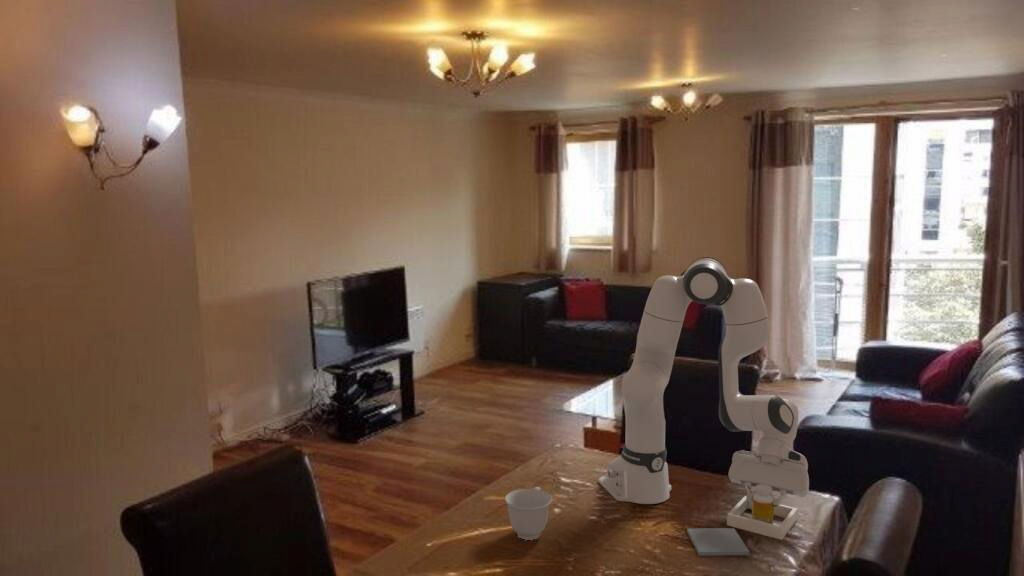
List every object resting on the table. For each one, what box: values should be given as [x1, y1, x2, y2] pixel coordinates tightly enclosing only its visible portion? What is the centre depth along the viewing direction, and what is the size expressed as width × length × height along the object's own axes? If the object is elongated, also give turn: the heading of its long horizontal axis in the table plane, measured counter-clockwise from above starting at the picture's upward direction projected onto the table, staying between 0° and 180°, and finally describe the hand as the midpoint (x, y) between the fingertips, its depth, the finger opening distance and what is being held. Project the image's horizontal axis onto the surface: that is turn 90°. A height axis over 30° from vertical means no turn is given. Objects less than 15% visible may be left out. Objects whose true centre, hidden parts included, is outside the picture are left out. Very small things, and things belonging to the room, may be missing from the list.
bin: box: [726, 495, 799, 541], centre depth 195 cm, size 14×14×3 cm
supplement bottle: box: [751, 484, 775, 524], centre depth 195 cm, size 5×5×10 cm
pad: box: [686, 527, 750, 557], centre depth 184 cm, size 12×12×1 cm
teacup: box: [504, 486, 553, 541], centre depth 189 cm, size 12×15×10 cm
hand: (762, 503), depth 194 cm, fingers closed on supplement bottle, 5 cm apart
